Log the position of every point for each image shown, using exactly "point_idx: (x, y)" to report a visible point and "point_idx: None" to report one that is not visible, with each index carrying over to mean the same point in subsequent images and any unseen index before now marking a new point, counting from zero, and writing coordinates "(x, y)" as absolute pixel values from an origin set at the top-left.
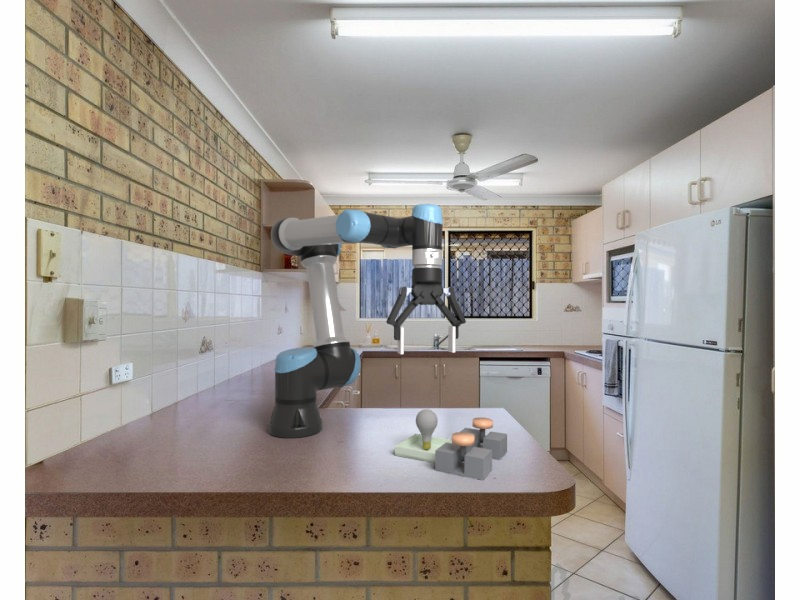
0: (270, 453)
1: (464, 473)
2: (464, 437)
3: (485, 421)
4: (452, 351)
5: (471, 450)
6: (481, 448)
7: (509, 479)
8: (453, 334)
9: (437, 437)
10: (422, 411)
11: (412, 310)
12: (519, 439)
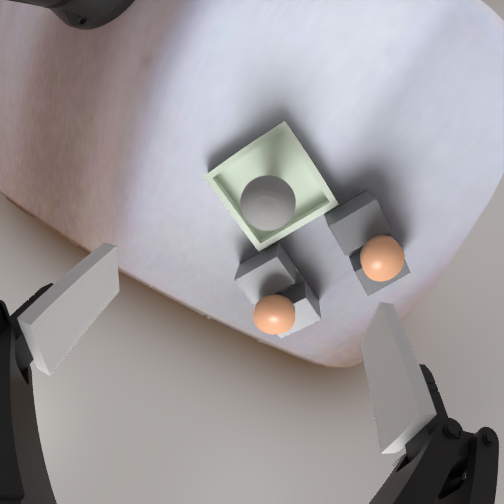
0: (49, 95)
1: None
2: (270, 325)
3: (381, 271)
4: (361, 346)
5: None
6: (310, 308)
7: (314, 330)
8: (379, 414)
9: (315, 168)
10: (252, 210)
11: (47, 482)
12: (463, 220)
